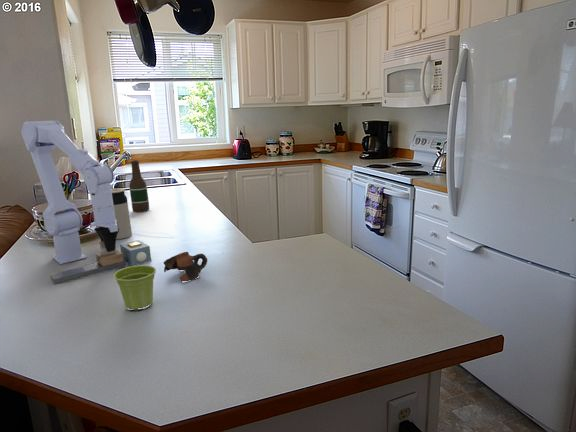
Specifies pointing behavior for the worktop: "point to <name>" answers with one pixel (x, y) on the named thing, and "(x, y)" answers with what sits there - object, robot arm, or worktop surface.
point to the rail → (83, 271)
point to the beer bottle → (138, 189)
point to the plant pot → (136, 285)
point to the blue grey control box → (136, 253)
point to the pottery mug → (186, 265)
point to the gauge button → (134, 244)
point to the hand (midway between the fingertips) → (109, 250)
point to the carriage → (108, 256)
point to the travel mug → (121, 213)
